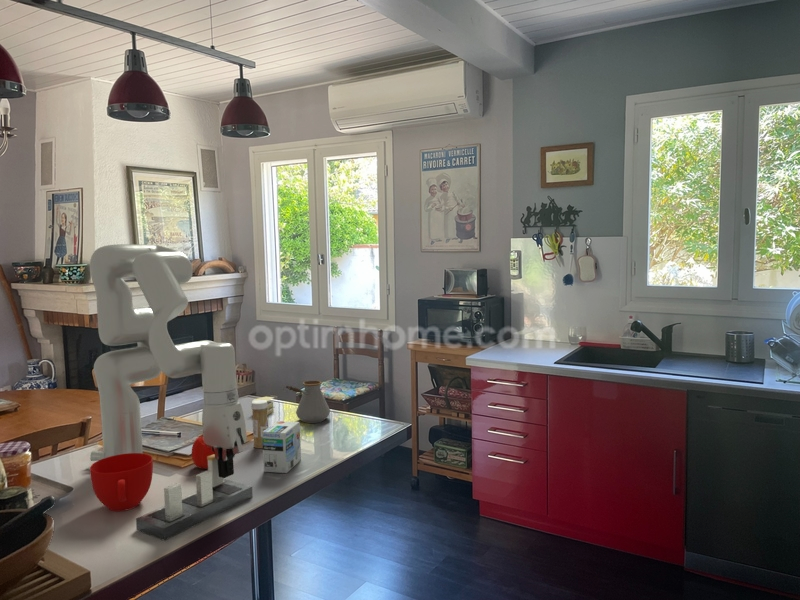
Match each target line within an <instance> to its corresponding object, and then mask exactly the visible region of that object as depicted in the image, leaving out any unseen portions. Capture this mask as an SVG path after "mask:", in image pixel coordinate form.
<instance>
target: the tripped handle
mask: <svg viewBox="0 0 800 600" xmlns="http://www.w3.org/2000/svg"><path fill="white" fill-rule="evenodd" d="M207 460H208V469H207V471H210V472H212V487H215V486H217V485H219V484H222V483H223V480H224V478H222V477H219V474H218V461H217V460H216V458H215V454H213V455H211V456H208V457H207Z"/></svg>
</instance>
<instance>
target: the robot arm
mask: <svg viewBox="0 0 800 600" xmlns="http://www.w3.org/2000/svg"><path fill="white" fill-rule="evenodd" d="M193 271H194V270H193V265H192V262H191V260H190V259H189V257H188V256H187V255H186V254H185V253H183V252H182V251H180V250H177V249H173V248H170V247H165V246H163V245H159V244H144V243H143V244H142V243H141V244H138V243H137V244H136V243H135V244H132V243H131V244H130V243H129V244H128V243H125V244H118V243H117V244H108V245H104V246H100V247H98V248H96V249H95V250H94V251H93V253H92V254H91V257H90V259H89V273H90V276H91V281H92V283H93V284H92V285H93V287H94V290H95V295H96V296H95V297H96V313H97V314H96V315H97V329H98V336H99V339H100V341H101V343H102V344H104V345H106V346H110V347H111V346H113V347H115V346H124V345H130V344H137V346H136V347H131V348H124V349H123V348H122V349H116V350H111V351H108V352H105V353H102V354H101V355H99V356H98V357H97V358H96V360H95V361H94V364H93V373H94V377H95V381H96V385H97V388H98V396H99V403H100V406H99V407H100V419H101V432H102V434H101V435H102V436H101V437H102V449H103V450H102V451H98V450H97V451H96V450H95V451H91V453H90V458H89V459H90V462H97V461H99V460H101V459H104V458H107V457H110V456H115V455H120V454H128V453H143V454H144V452H143V451H144V450H143V437H142V435H143V433H142V419H141V418H142V417H141V416H142V415H141V403H140V399H139V396H138V394H137V393H136V392H135V391H134V389H133V388H132V387H131V385H134V384H138V383H141V382H146V381H151V380H153V379H156V378H158V377H160V375H161V373H162V374H164V375H165V376H167V377H168V378H171V379H179V378H184V377H188V376H193V375H198V374H201V381H202V382H201V383H202V395H203V396H202V397H203V406H202V418H201V419H202V420H201V424H202V425H201V427H202V428H201V429H202V434H203V439H204V442H205V443H206V444H207V448H209V449H210V450H213V452H214V454H215V458H216V460H217V461H218V474H219V477H222V478H223V479H225V478H228V477H230V476H233V475H234V474H235V469H234V468H235V467H234V458H235V457H236V455H237V454H241V453H242V452H243V451H244V449H243V445H245V444H246V443H247V440H248V436H247V428H246V420H245V419H246V418H245V414H244V411H243V407H242V404H241V402H239V396H240V395H239V394H238V380H237V379H238V378H237V369H236V368H237V367H236V366H237V365H236V352H235V347H234V345H233V344H232V343H229V342H216V341H212V340H207V339H205V340H204V339H203V340H198V341H192V342H191V341H190V342H184V343H180V344H179V343H178V344H174V342H173V340H172V338H171V335H170V334H169V331H168V322H170V321H172V320H173V319H175V318H177V317H178V316H179V315H181V314H182V313H184V311H185V310H186V309H187V308H188V305H189V300H188V297H187V295H186V294H185V292H184V290H183V288H182V286H181V285H182V284H186V283H188V282H189V281H191V279H192V277H193ZM124 278H135V280H136V282H137V283H138V287H139V288H140V290H141V292H142V294H143V296H144V298H145V300H146V302H147V305H148V306H140V307H134V305H133V294H132V290H131V288H130V286H129V285H128V284H127V282H126V281H125V279H124Z"/></svg>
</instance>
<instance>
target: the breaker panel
mask: <svg viewBox="0 0 800 600" xmlns="http://www.w3.org/2000/svg"><path fill="white" fill-rule="evenodd" d="M195 483H196V484H195V485H196V486H195V487H196V491H195V492H193V493H191V494H189V495H186V496H185V497H184V496H182V484H180V483H174V484H171V485H169V486H166V487H164V488H163V493H164V494H163V495H164V505H163V506H161V507H159V508H156V509H154V510H152V511H149V512H148V513H145V514H142V515H140V516H138V517H136V518H135V526H136V531H138V532H141V533H143V534H146V535H149V536H152V537H154V538H157V539H160V540H163V541H166V540H168V539H169V540H170V538H173V537H174V536H177V535H178V534H180V533H183V532H185V531H186V530H188V529H190V528H192V527H195V526H197V525H199V524H201V523H203V522H205V521H206V520H209V519H211V518H213V517H215V516H217V515H219V514H220V513H222V512H224V511H227V510H228V509H231V508H234V507H235V506H237V505H239V504H241V503H243V502H245V501H247V500H249V499H252V498H253V486H251V485H249V484H244V483H241V482H236V481H233V480H229V479H225V478H224V479H223V483H222V484H219V485H217V486H215V487H212V472H210V471H208V470H205V471H202V472H200V473H198V474H196V475H195Z"/></svg>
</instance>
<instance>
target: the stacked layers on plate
mask: <svg viewBox="0 0 800 600" xmlns="http://www.w3.org/2000/svg"><path fill="white" fill-rule="evenodd" d="M273 399H275V396H274V397H273V396H262V397H257V398H254V399H252V402H253V401H256V400H266V401H267V403H268V407H267V416H269V415H270V414H272V413H274V408H275V406H274V403H275V400H273Z"/></svg>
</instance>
